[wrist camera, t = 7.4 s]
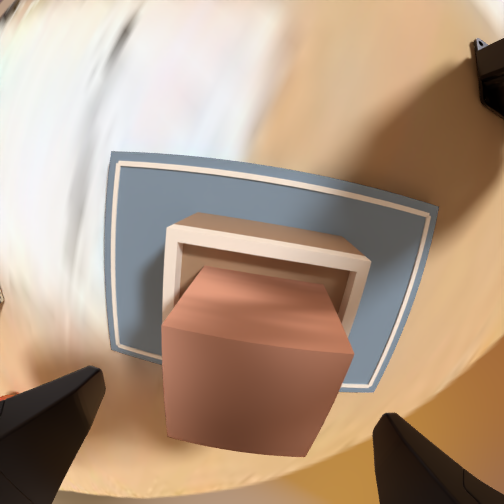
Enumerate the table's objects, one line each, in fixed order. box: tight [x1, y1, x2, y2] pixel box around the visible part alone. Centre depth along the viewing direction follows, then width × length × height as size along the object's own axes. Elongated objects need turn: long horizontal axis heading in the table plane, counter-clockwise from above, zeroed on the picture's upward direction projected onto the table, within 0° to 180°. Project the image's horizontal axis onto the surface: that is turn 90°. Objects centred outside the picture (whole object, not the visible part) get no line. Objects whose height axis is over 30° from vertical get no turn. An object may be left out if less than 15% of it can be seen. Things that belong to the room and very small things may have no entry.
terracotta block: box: [161, 266, 354, 457], centre depth 10 cm, size 5×5×5 cm
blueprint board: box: [105, 151, 439, 392], centre depth 14 cm, size 20×14×6 cm
